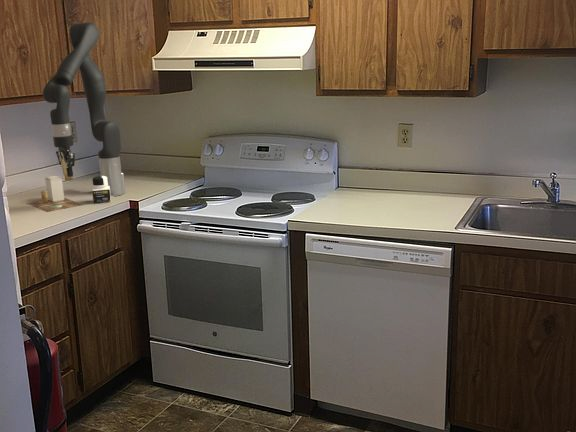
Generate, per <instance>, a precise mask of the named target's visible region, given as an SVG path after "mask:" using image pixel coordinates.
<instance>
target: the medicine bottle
mask: <svg viewBox="0 0 576 432" xmlns="http://www.w3.org/2000/svg"><path fill="white" fill-rule="evenodd" d="M91 181H92V190H91V193H92V200H93V202H92V203H93V205H95V204H108V203H112V196H111V195H110V186H108V181H107V177H106V176H101V175H97V176H93V178H92V180H91Z"/></svg>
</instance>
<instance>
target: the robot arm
mask: <svg viewBox="0 0 576 432" xmlns="http://www.w3.org/2000/svg"><path fill="white" fill-rule="evenodd" d="M69 38H70V39H69V40H70V42H71V47H72V50H71V52H70V53H68V54H67V55H66V56H65V57H64V59H62V61H61V63H60V64H59V66H58V67H57V69H56V70H57V71H56V72H55V74H54V75H53V77H51V78H50V79H49V80H48V81H47V83H46V84H45V86H44V88H43V90H42V96H43V99H44V100H45V102H47V103H51V104H55V103H56V108H53V109H51V110H50V113H49V117H50V121H51V132H52V138H53V139H52V140H53V146H54V147H55V148H58V150H57V151H56V150H55V154H56V157H57V160H58V164H59V166H61V167H62V168H63V163H62V159H63V161H64V163H65V165H66V170H67V176H68V177H72V176H73V177H74V172H73V168H74V167H75V159H76V156H75V155H76V154H75V152H72V149H71V147H72V146H74V138H73V132H72V126H71V122H70V116H69V110H70V103H71V93H70V90H69V88H68V87H67V86H71V84H72V83H73V82H74V79H75V77H76V75H77V73H78V71H79V72H80V77H81V81H82V82H81V83H82V86H83V90H84V94H85V95H84V96H85V98H86V102H87V108H88V111H89V112H88V113H89V119H90V127H91V132H92V133H91V134H92V136H93V138H94V139H95V140H96V141H97V142H101V143H102V148H101V150H99V151H98V152H97V156H98V162H99V163H98V165H99V171H100V172H99V173H100V176H106V177H107V181H108V186H110V195H111V197H117V196H122V195H124V194H126V184H125V175H124V172H122V164H121V157H120V156H121V155H120V154H121V150H122V149H121V148H122V147H121V144H122V143H121V132H120V128H119V125H118V124H117V123H116V122H115V121H110V120H109V121H107V119H106V115H105V110H104V109H105V107H104V106H105V101H106V97H107V86H106V82H105V76H104V75H103V73H102V71H101V69H100V68H99V67H98V65H97V64H96V63H95V62H94V60H93V59H92V57H91V55H90V52H91V51H92V50H93V48H94V47H95V46H96V45H97V43H98V41H99V38H100V31H99V28H98V27H97V25H96V24H95V23H93V22H80V23H74V24H72V25H70V27H69ZM67 159H68V160H67ZM67 162H68V163H67ZM62 172H63V175H64V170H63V169H62Z"/></svg>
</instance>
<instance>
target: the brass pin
mask: <svg viewBox="0 0 576 432" xmlns="http://www.w3.org/2000/svg"><path fill="white" fill-rule="evenodd" d="M67 160H68V159H67ZM62 163H63V167H62V171H63V170H64V174H63V176H64V181H73V180H74V175H73V176H72V177H68V176H67V170H66V165H65V163H64V161H63V159H62ZM67 163H68V162H67Z"/></svg>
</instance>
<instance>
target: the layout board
mask: <svg viewBox="0 0 576 432" xmlns="http://www.w3.org/2000/svg"><path fill="white" fill-rule="evenodd" d="M40 194H41V195H40V196H41V200H36V201H30V202H26V203H25V204H27V205H29V206H31V207H34V208H36V209H38V210H41V211H44V212H45V213H50V212H55V211H59V210H64V209H69V208H75V207H80V206H85V204H83V203H80V202H78V201H75V200H73V199H70V198H67V197H64V200H59V201H54V202H53V201H50V200H48V195H47V190H43V191H41V192H40Z"/></svg>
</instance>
